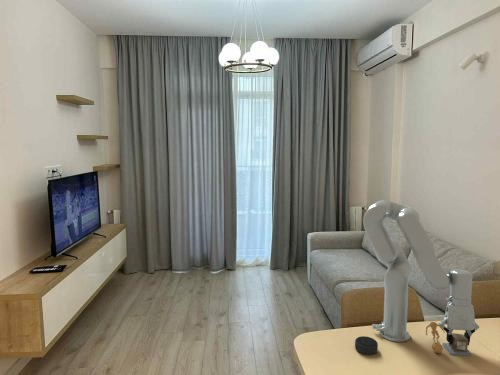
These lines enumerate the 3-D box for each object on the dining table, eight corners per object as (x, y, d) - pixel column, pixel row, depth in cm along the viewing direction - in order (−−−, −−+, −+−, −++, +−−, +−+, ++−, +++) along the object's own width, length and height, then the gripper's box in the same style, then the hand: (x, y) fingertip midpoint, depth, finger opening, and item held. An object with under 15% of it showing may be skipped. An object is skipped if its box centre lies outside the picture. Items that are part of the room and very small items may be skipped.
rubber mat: (450, 354, 148) (450, 352, 148) (442, 344, 156) (442, 342, 156) (471, 356, 148) (471, 354, 147) (462, 345, 155) (462, 343, 155)
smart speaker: (350, 347, 154) (350, 337, 154) (367, 342, 158) (367, 333, 157) (364, 357, 146) (365, 348, 146) (382, 353, 150) (382, 343, 149)
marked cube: (454, 351, 149) (455, 339, 149) (448, 344, 154) (449, 332, 154) (467, 352, 149) (468, 340, 148) (461, 345, 154) (462, 334, 153)
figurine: (431, 356, 147) (431, 327, 146) (421, 348, 153) (422, 320, 152) (449, 353, 149) (450, 325, 148) (440, 346, 155) (440, 318, 153)
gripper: (441, 303, 147) (439, 346, 149) (487, 305, 145) (485, 349, 147) (434, 296, 155) (432, 337, 156) (478, 297, 153) (475, 339, 154)
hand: (457, 342), depth 152 cm, fingers open, 5 cm apart
